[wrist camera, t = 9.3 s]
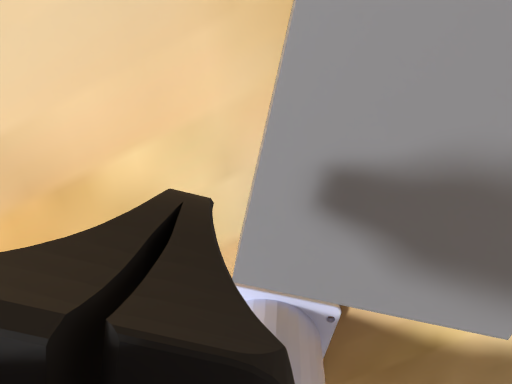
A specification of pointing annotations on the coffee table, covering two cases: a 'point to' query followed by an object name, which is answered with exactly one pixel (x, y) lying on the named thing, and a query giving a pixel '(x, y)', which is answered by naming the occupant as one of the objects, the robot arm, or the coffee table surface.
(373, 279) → the deck
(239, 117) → the coffee table surface
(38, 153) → the coffee table surface
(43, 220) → the coffee table surface
